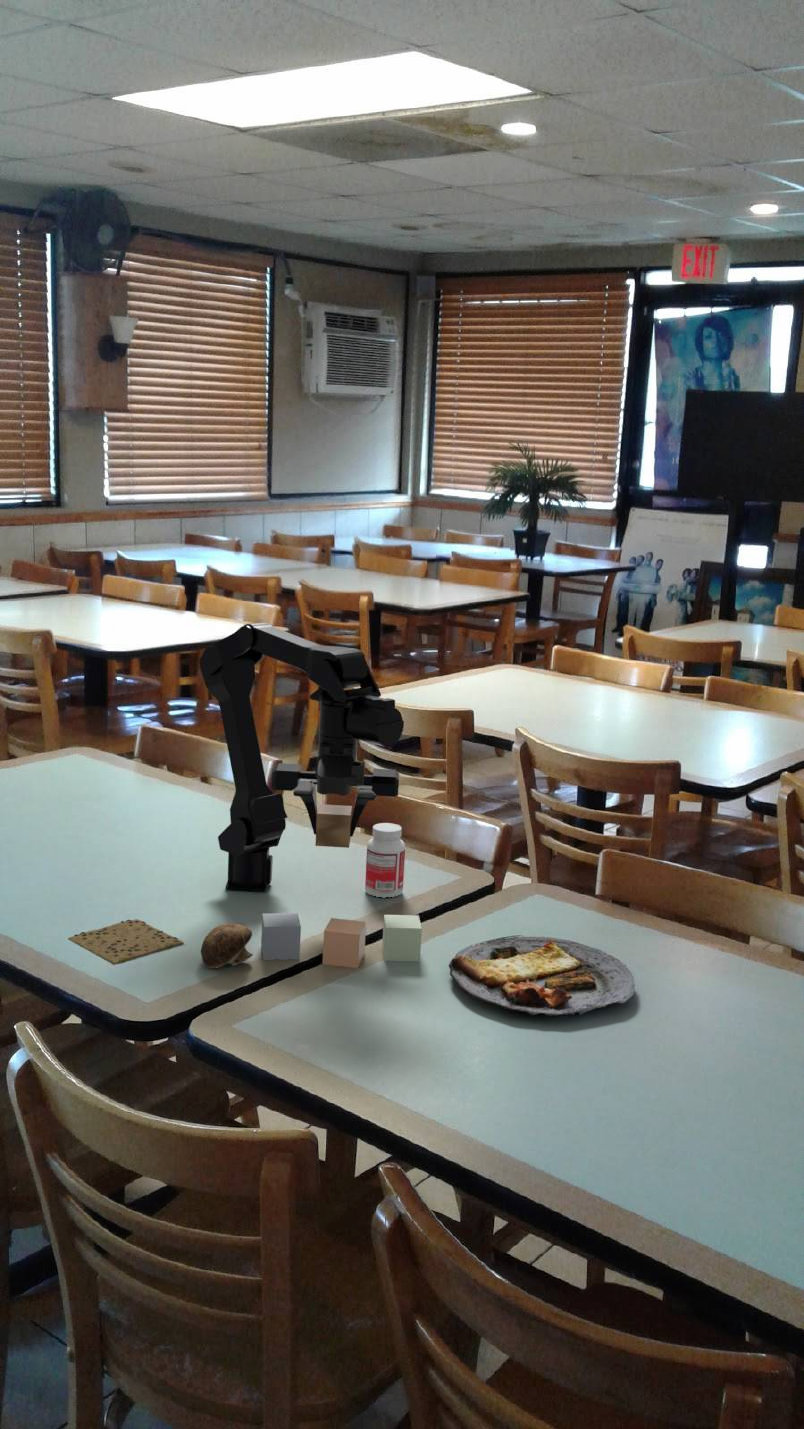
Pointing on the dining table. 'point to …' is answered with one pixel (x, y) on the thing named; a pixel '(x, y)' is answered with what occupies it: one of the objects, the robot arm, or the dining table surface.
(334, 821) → the walnut cube
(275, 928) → the slate cube
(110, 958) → the cookie
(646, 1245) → the dining table surface
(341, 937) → the terracotta cube
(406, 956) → the sage cube
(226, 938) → the mushroom
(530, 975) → the food plate
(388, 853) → the pill bottle
